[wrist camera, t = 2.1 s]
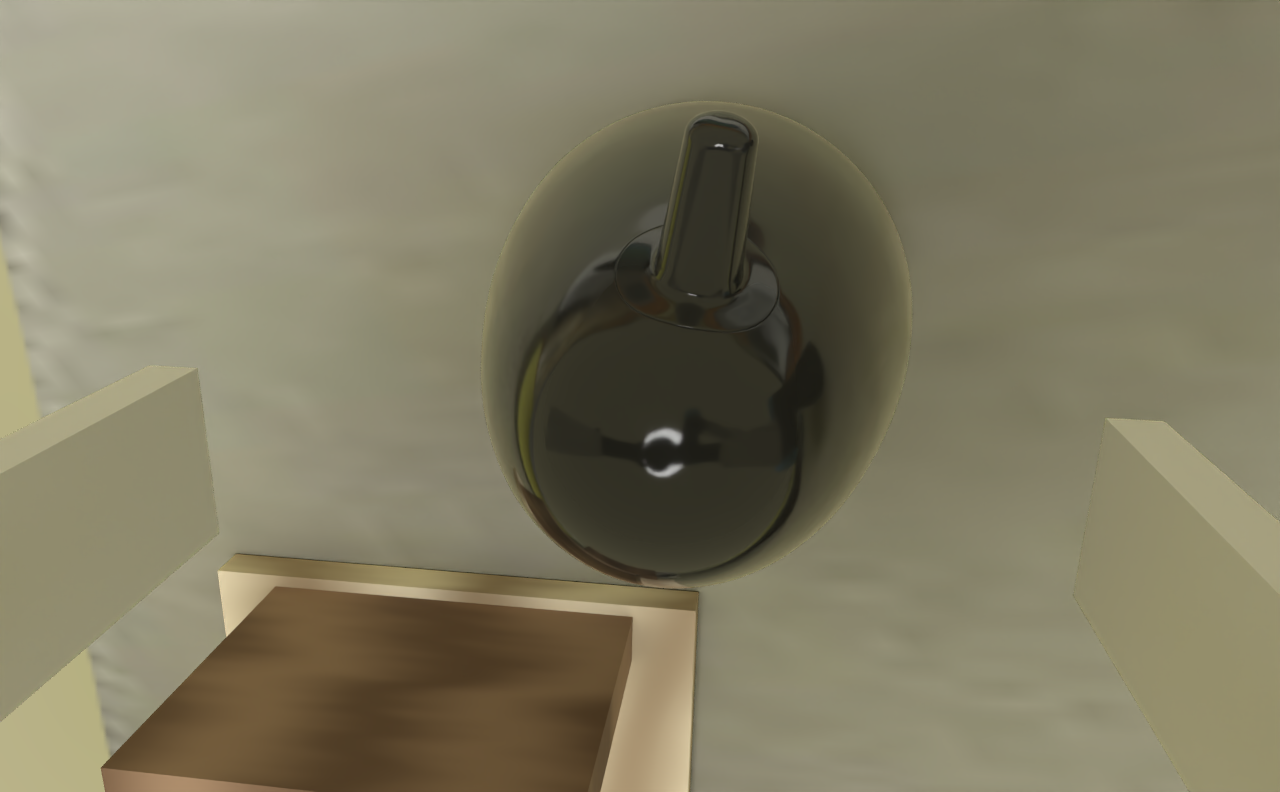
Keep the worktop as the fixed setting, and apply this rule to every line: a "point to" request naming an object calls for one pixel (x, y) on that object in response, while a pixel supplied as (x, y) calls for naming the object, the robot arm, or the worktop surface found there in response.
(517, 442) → the pump dispenser
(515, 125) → the worktop surface
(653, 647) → the caddy
